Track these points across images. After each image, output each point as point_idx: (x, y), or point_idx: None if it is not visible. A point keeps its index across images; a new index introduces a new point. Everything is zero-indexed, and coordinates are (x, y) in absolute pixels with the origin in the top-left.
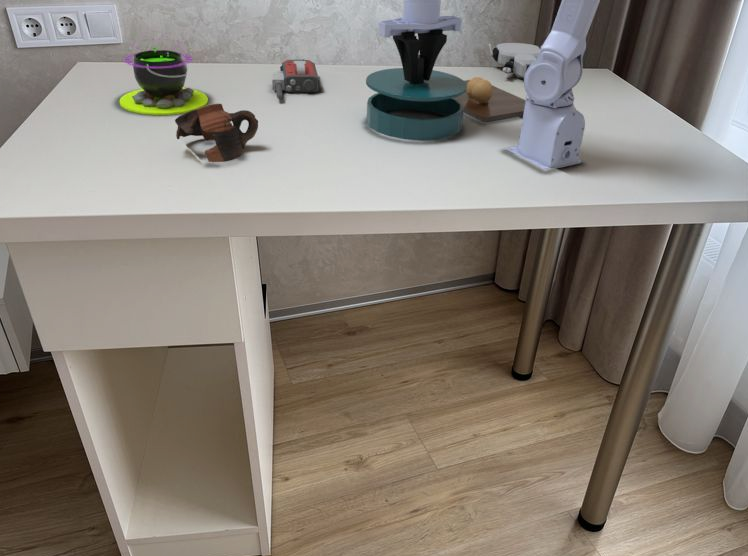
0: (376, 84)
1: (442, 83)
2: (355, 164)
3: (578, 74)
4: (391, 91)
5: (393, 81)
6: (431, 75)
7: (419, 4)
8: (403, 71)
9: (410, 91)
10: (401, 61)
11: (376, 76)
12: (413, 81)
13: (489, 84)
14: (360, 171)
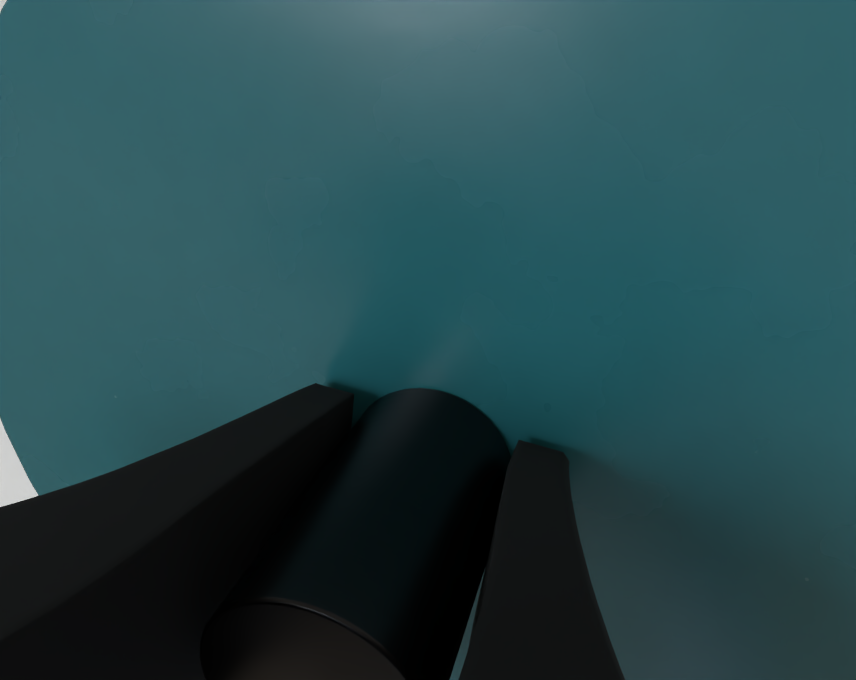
0: (21, 277)
1: (638, 650)
2: (6, 441)
3: None
4: (68, 485)
5: (214, 304)
6: (830, 412)
7: None
8: (255, 412)
9: None
10: (151, 458)
11: (127, 28)
12: None
13: None
14: (3, 491)
